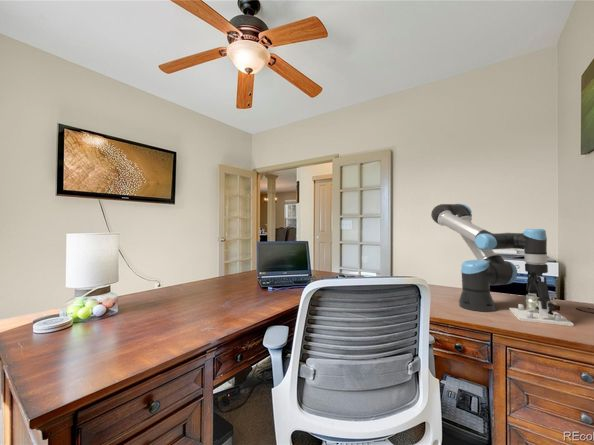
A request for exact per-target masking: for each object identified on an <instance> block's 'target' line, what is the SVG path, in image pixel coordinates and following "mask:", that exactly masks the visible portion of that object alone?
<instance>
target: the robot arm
mask: <svg viewBox="0 0 594 445" xmlns="http://www.w3.org/2000/svg"><path fill="white" fill-rule="evenodd" d="M472 212H473V211H472V209H471V208H470V207H469V206H468V205H467V204H463V203H450V204H449V203H442V204H441V203H440V204H438V205H436V206H434V207H433V209H432V210H431V213H430V214H431V215H430V216H431V219H432V220H433V222H435V223H436V224H438V225H440V226H442V227H443V226H444V227H447V228H448V229H450V230H452V231H454V232H456V233H458V234H460V236H461V237H462V239H463V240H464V242H465V243H466V246H468V248H469V249H470V251H471V252H472V254H473V255H474V256H475V258H476V259H469V260H466V261H464V262H462V263H461V270H460V271H461V288H462V290H461V293H460V295H459V296H460V297H459V299H458V306H459V307H461V308H463V309H466V310H471V311H476V312H493V311H495V310H496V304H495V302H494V299H493V297H492V294H491V287H490V286H501V285H502V286H505V285H509V284H512V283H514V282H515V281H516V279H517V277H518V269H517V267H516V265H515V264H514V263H512V262H511V261H509V260H505V259H504V258H503V257H502V255H501V254H497V253H495V251H494V250H507V249H509V250H511V249H512V250H513V249H514V250H515V249H516V250H517V249H519V250H524V251H523V252H524V253H523V254H524V263H525V264H524V270H525V272H527V281H526V291H527V294H531V295H536V296H537V295H538V296H537V297H538V298H537V301H538V302H539V316H544V317H548V304H549V303H548V302H551V298H550V293H549V288H548V285H547V277H546V276H543V274H547V273H548V272H549V268H548V267H549V266H548V264H547V263H548V259H549V255H548V251H547V250H548V249H547V243H548V237H547V233H546V232H547V231H546V230H545V229H544V228H525V229H524V230H523V232H501V233H493V232H490V231H489V230H487V229H485V228H482V227H480V226H478V225H476V224H474V223H473V222H472V219H473V218H472V216H473V214H472Z"/></svg>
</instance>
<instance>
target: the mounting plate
mask: <svg viewBox="0 0 594 445" xmlns="http://www.w3.org/2000/svg"><path fill="white" fill-rule="evenodd" d="M517 304H518V305H517V308H516V307H509V311H510V312H511V313H512V314H513V315H514V316H515V317H516V318H517V319H518V320H519V321H522V322H529V323H530V322H532V323H542V324H547V325H548V324H550V325H561V326H569V327H574V323H573V322H572V321H570V320H569V319H567V318H566V317H564V316H562V315H561V314H560V313H558V312H557V311H552V313H554V315H550V314H548V317H544V316H539V313H538V312H539V310H537V311H532V310H528V309H527V308H525V306H524V303H517ZM549 311H550V307H548V312H549Z"/></svg>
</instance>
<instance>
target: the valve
mask: <svg viewBox="0 0 594 445" xmlns="http://www.w3.org/2000/svg"><path fill="white" fill-rule="evenodd" d="M525 304H526V308H525V309H528V310H532V311H537V310H539V301H538V296H537V294H536V295H531V294H528V293H527V294H525ZM548 307H549V312H548V314H550V315H554V313H552V312H556V311H557V310H556V308H555V307H554V303H552V302H549V303H548ZM538 313H539V312H538Z"/></svg>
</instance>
